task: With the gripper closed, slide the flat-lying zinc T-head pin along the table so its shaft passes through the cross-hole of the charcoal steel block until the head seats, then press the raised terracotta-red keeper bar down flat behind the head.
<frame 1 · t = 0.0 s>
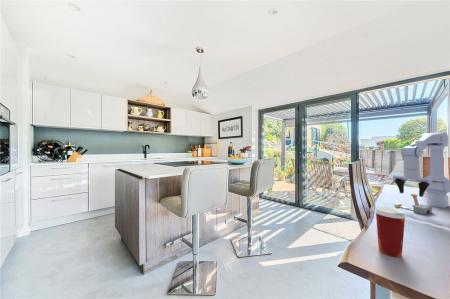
hand: (411, 194, 94), 10 cm above the table, fingers open, 7 cm apart
paper cup: (389, 252, 59), on the table
zinc pin: (398, 209, 103), on the table
hitch block: (422, 214, 93), on the table
keeper mount: (417, 209, 102), on the table
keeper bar: (416, 201, 101), point 5 cm above the table, hinge at 60.0°
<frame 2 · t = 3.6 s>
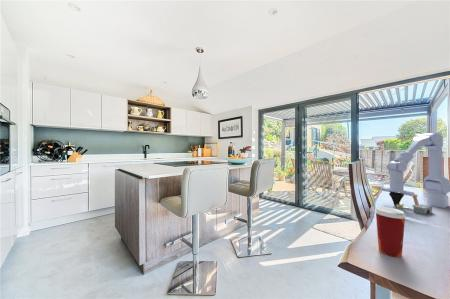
hand: (396, 205, 103), 2 cm above the table, fingers closed
zinc pin: (399, 209, 102), on the table, touching gripper
everything else where it was.
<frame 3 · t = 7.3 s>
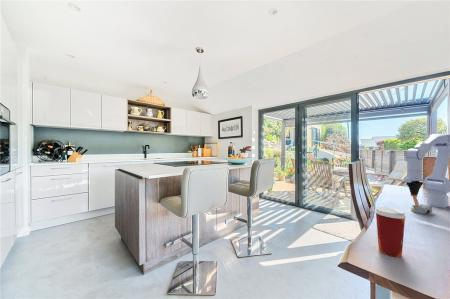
hand: (414, 194, 100), 9 cm above the table, fingers closed
zinc pin: (414, 213, 96), on the table
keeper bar: (416, 201, 101), point 5 cm above the table, hinge at 59.0°, touching gripper
everything else where it was.
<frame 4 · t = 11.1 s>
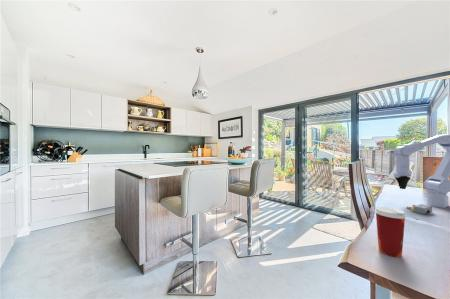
hand: (402, 188, 108), 10 cm above the table, fingers closed
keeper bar: (414, 207, 100), point 1 cm above the table, hinge at 3.5°
everything else where it was.
at the end: zinc pin 0.1 cm from the target spot, on the table; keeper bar at +4° (first picture: +60°); zinc pin tilted 0° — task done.
